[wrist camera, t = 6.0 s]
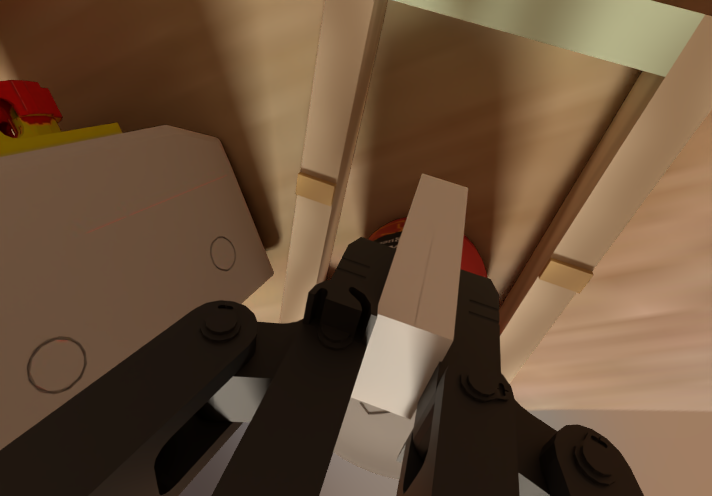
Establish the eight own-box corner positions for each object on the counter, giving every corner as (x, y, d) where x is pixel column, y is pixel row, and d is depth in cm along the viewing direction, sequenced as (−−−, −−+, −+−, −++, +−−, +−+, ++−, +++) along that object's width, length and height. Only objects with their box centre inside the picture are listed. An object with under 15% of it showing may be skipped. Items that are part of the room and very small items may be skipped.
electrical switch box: (199, 31, 24) (-637, -32, 6) (287, 263, 28) (-65, 581, 11) (50, 104, 30) (-582, 170, 13) (142, 285, 34) (-228, 511, 17)
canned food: (429, 186, 22) (381, 324, 13) (517, 286, 24) (524, 466, 15) (337, 252, 26) (255, 390, 18) (417, 333, 28) (378, 495, 20)
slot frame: (294, 299, 30) (277, 325, 28) (356, -76, 17) (333, -83, 15) (493, 375, 28) (492, 410, 26) (734, 23, 15) (774, 32, 13)
